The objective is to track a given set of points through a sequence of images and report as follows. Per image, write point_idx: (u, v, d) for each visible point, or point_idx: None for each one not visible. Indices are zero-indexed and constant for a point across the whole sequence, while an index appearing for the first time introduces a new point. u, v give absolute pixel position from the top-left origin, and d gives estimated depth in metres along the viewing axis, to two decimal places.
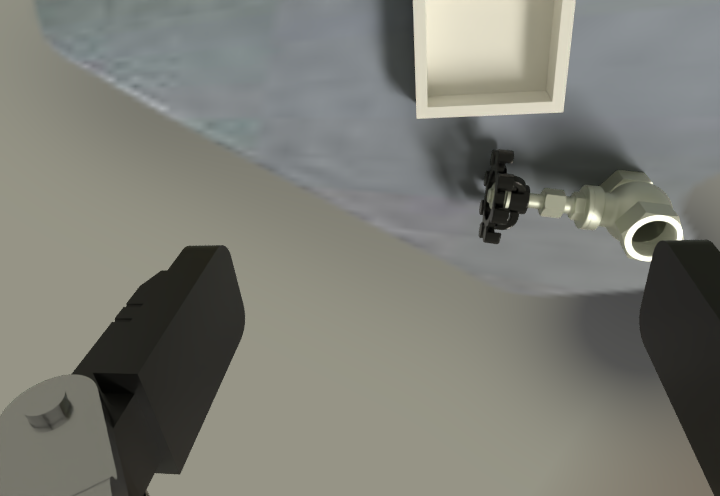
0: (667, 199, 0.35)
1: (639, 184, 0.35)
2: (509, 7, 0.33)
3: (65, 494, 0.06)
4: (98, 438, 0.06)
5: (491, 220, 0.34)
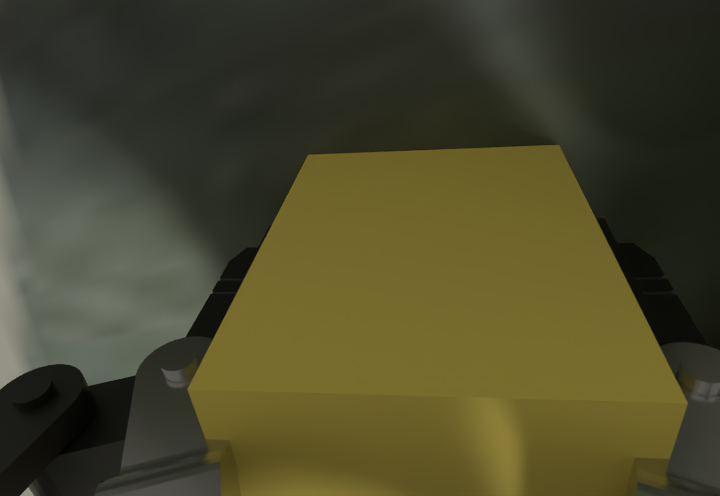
0: None
1: None
2: None
3: (182, 453, 0.06)
4: None
5: None
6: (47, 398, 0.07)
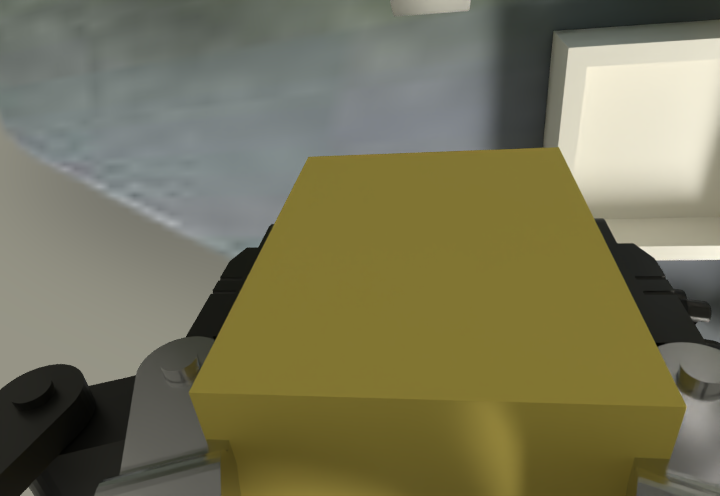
0: None
1: None
2: (696, 105, 0.22)
3: (182, 453, 0.06)
4: None
5: None
6: (47, 398, 0.07)
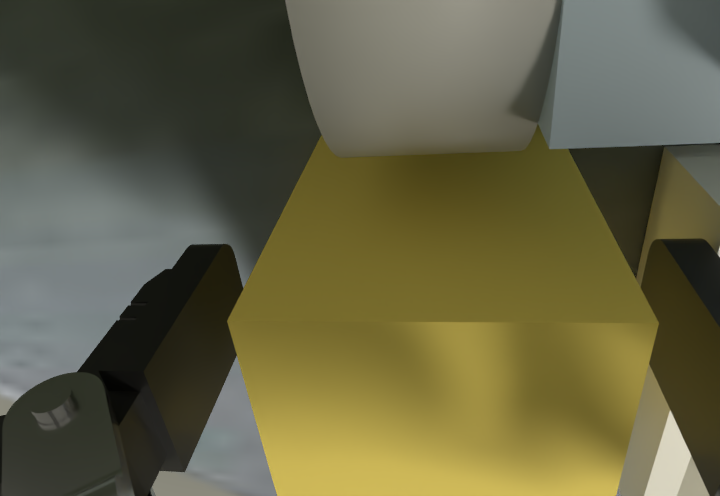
0: None
1: None
2: None
3: (71, 491, 0.06)
4: (104, 436, 0.06)
5: None
6: None
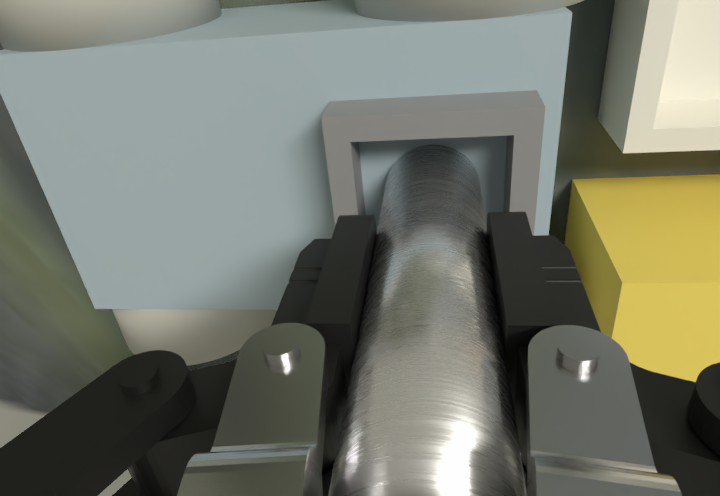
0: None
1: None
2: None
3: (271, 440, 0.06)
4: (312, 398, 0.07)
5: None
6: (154, 383, 0.07)
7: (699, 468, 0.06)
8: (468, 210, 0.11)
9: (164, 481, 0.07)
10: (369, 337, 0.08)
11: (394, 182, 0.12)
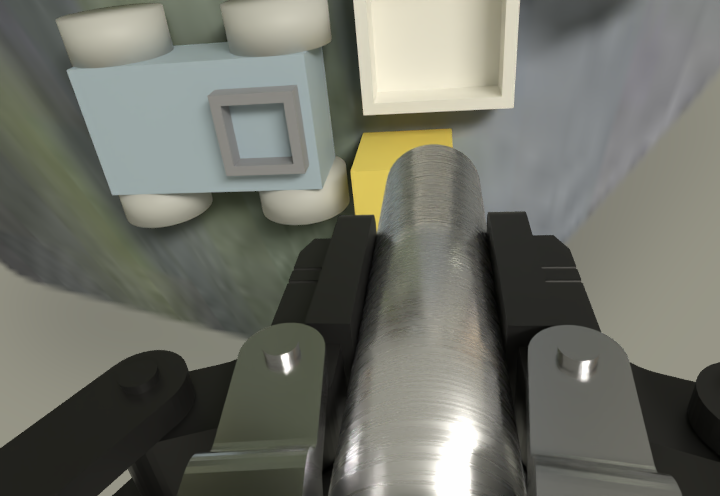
0: None
1: None
2: (412, 5, 0.32)
3: (272, 440, 0.06)
4: (312, 398, 0.07)
5: None
6: (154, 383, 0.07)
7: (699, 468, 0.06)
8: (468, 210, 0.11)
9: (164, 481, 0.07)
10: (369, 337, 0.08)
11: (394, 182, 0.12)
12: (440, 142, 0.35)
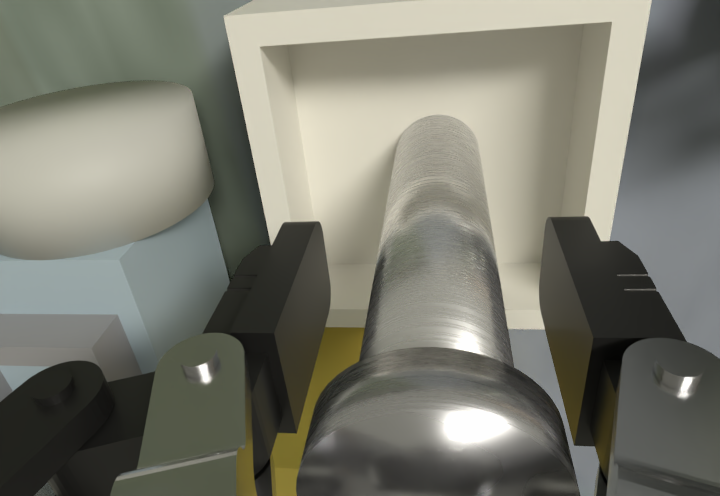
0: None
1: None
2: (382, 117, 0.15)
3: (199, 449, 0.06)
4: (236, 403, 0.07)
5: None
6: (68, 394, 0.07)
7: None
8: (468, 165, 0.13)
9: (90, 489, 0.07)
10: (387, 257, 0.10)
11: (404, 146, 0.14)
12: None
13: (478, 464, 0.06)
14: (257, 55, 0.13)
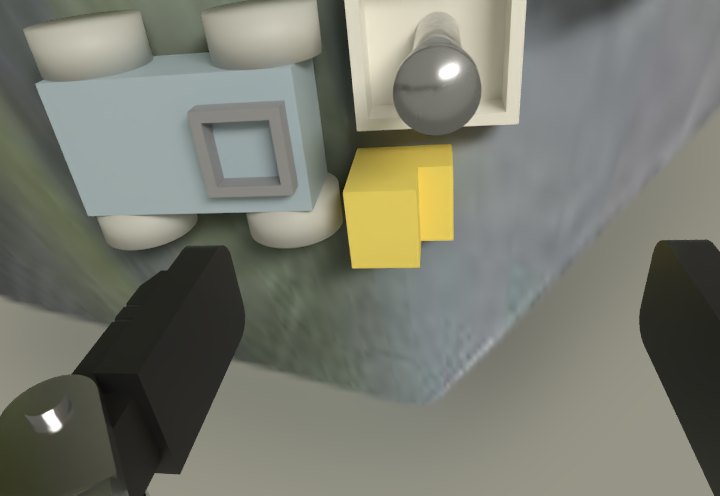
0: None
1: None
2: (409, 13, 0.30)
3: (65, 494, 0.06)
4: (98, 438, 0.06)
5: None
6: None
7: None
8: (452, 26, 0.27)
9: None
10: (417, 47, 0.24)
11: (421, 24, 0.29)
12: (440, 159, 0.32)
13: (450, 69, 0.20)
14: None
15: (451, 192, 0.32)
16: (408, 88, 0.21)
